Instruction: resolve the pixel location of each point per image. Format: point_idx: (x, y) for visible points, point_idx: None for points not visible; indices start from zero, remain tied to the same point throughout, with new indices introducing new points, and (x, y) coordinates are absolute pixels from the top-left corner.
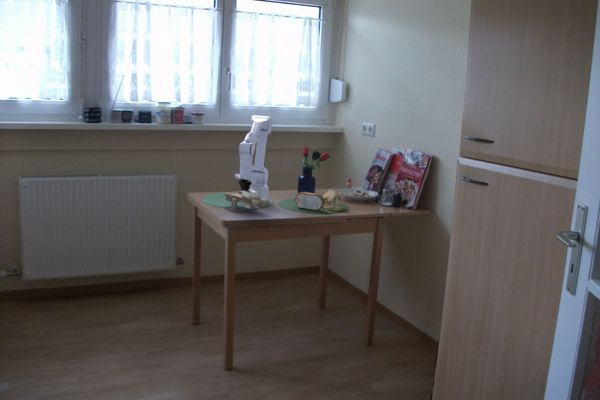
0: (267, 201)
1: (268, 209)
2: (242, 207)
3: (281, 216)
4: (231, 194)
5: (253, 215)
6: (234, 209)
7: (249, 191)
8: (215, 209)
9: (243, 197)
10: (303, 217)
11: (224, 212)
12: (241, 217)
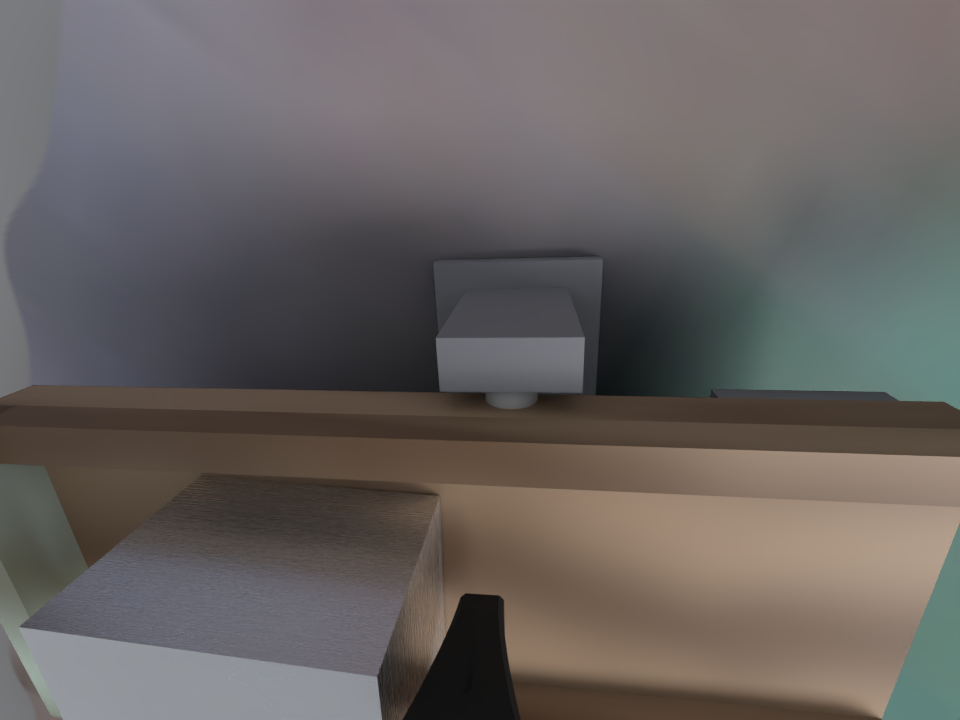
0: None
1: None
2: None
3: None
4: (747, 463)
5: (164, 356)
6: (474, 288)
7: (173, 715)
8: (729, 31)
9: (366, 515)
10: (21, 684)
11: (452, 60)
12: (80, 129)
